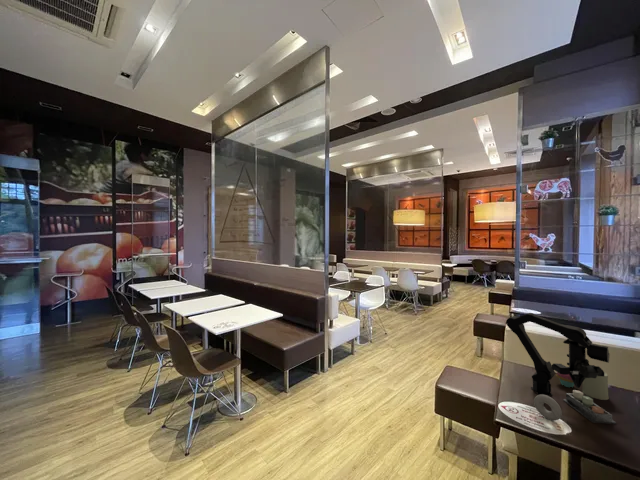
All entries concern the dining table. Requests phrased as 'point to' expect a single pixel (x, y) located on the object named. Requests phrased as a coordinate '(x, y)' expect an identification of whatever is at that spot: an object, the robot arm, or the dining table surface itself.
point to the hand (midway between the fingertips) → (577, 387)
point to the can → (596, 387)
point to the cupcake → (565, 380)
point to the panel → (588, 410)
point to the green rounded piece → (587, 401)
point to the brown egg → (597, 409)
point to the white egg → (577, 394)
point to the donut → (551, 415)
